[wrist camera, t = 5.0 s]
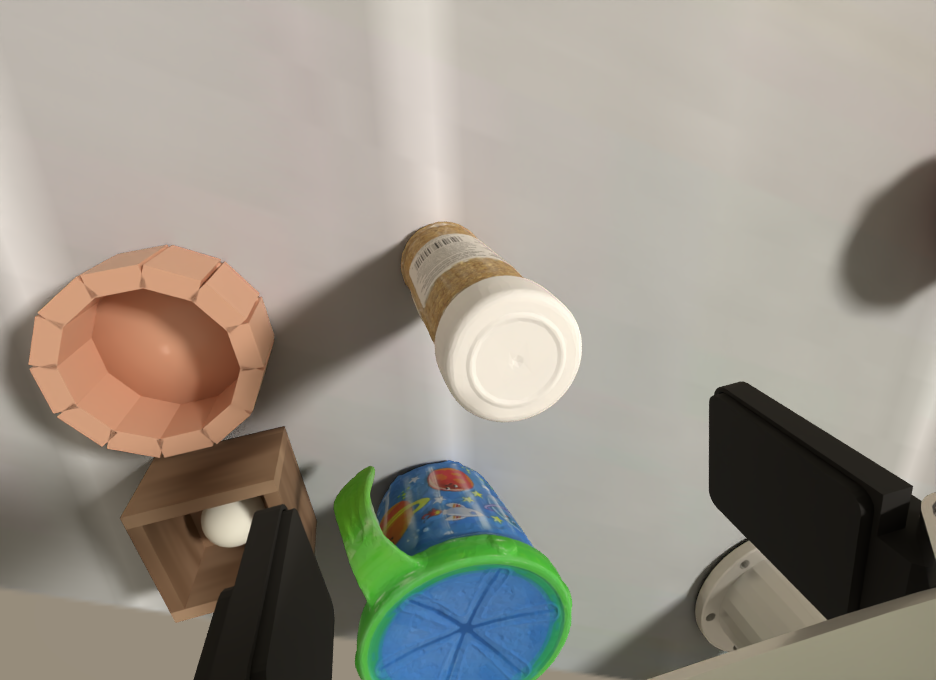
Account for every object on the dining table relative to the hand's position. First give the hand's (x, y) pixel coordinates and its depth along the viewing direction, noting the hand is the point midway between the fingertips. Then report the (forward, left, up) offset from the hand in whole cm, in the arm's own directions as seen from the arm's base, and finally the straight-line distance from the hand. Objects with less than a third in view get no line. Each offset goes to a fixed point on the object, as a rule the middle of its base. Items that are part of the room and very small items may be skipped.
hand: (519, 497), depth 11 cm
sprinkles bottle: (-2, -1, -19) cm, 19 cm away
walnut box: (+12, +10, -19) cm, 25 cm away
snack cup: (+2, +15, -19) cm, 24 cm away
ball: (+12, +10, -18) cm, 24 cm away
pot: (+12, 0, -19) cm, 22 cm away
